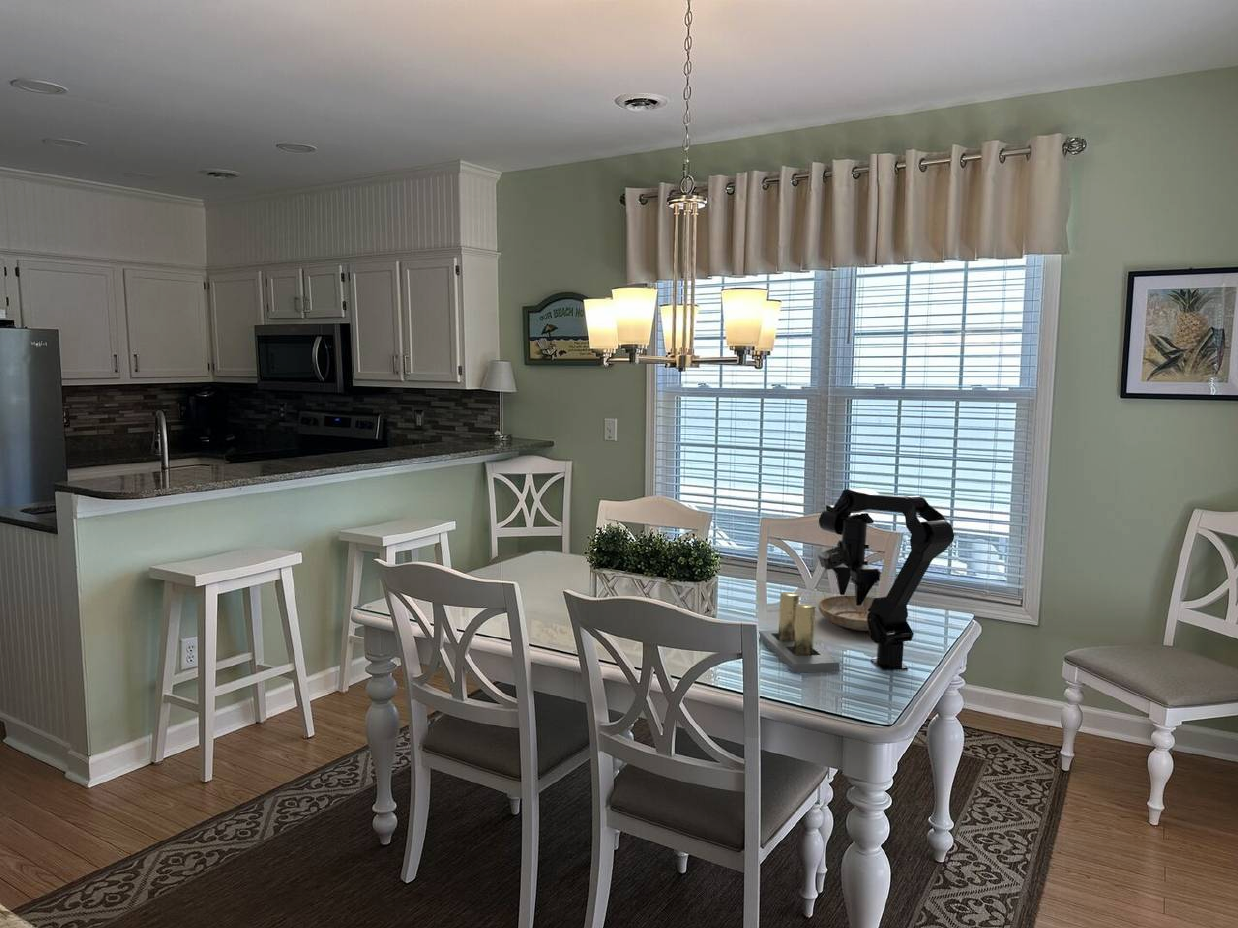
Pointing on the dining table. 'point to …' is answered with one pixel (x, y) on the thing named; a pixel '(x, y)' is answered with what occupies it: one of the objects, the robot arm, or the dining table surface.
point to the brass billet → (804, 630)
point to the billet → (787, 616)
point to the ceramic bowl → (846, 611)
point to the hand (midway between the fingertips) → (850, 599)
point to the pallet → (799, 664)
